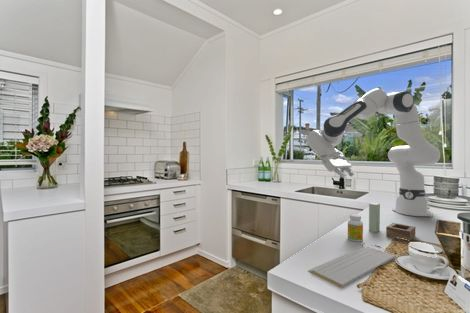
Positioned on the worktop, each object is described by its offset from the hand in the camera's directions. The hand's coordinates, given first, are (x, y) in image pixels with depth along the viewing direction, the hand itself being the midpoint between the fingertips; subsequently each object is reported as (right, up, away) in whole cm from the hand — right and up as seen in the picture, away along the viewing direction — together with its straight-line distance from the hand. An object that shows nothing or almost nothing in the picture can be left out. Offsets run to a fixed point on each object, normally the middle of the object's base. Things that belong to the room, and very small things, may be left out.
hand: (348, 176), depth 114 cm
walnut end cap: (+14, -24, -16) cm, 32 cm away
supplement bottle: (-7, -24, -19) cm, 31 cm away
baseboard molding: (-18, -25, -40) cm, 50 cm away
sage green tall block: (+8, -24, -8) cm, 26 cm away
